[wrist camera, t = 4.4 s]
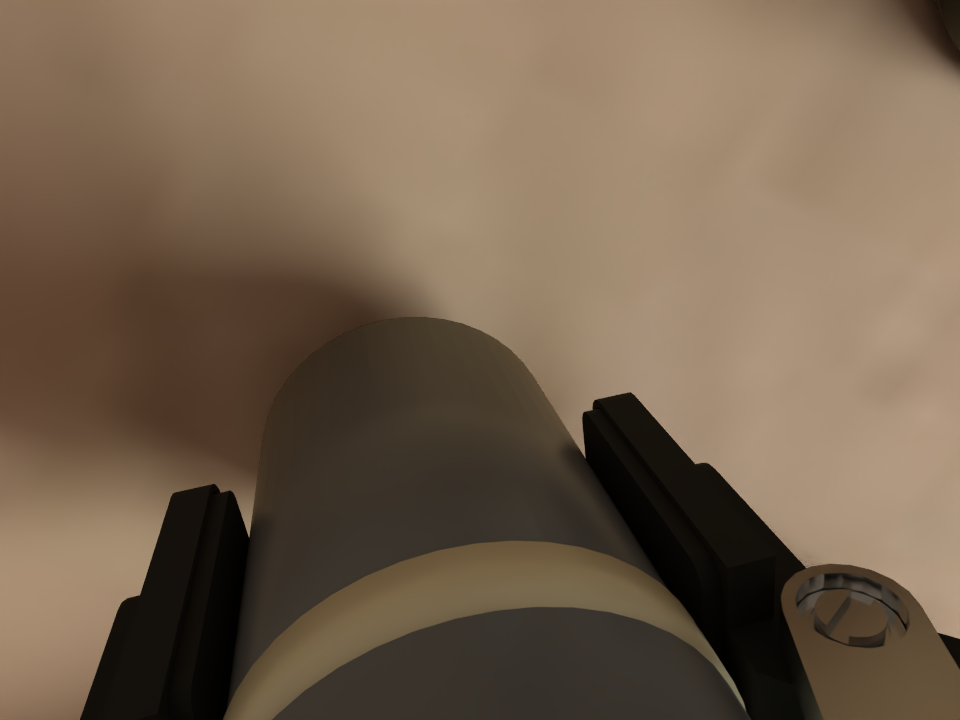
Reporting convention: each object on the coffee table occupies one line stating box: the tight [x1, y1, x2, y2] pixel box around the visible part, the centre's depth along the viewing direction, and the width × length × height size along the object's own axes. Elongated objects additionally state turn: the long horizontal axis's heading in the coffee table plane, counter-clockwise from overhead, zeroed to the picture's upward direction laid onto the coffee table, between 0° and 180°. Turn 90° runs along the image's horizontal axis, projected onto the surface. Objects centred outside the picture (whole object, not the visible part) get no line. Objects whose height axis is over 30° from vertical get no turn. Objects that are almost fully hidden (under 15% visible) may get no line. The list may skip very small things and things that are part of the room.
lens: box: [223, 317, 751, 720], centre depth 9 cm, size 5×5×8 cm
